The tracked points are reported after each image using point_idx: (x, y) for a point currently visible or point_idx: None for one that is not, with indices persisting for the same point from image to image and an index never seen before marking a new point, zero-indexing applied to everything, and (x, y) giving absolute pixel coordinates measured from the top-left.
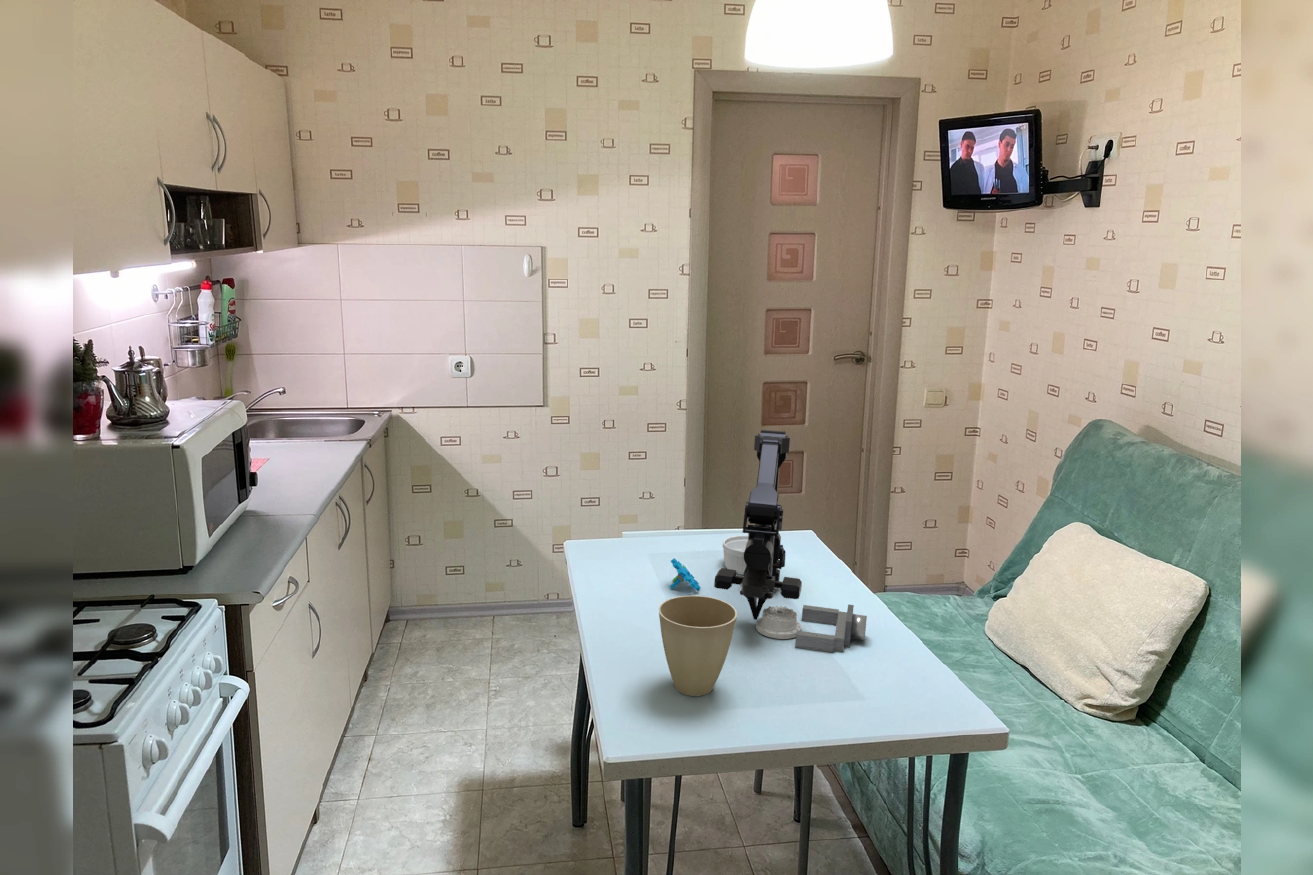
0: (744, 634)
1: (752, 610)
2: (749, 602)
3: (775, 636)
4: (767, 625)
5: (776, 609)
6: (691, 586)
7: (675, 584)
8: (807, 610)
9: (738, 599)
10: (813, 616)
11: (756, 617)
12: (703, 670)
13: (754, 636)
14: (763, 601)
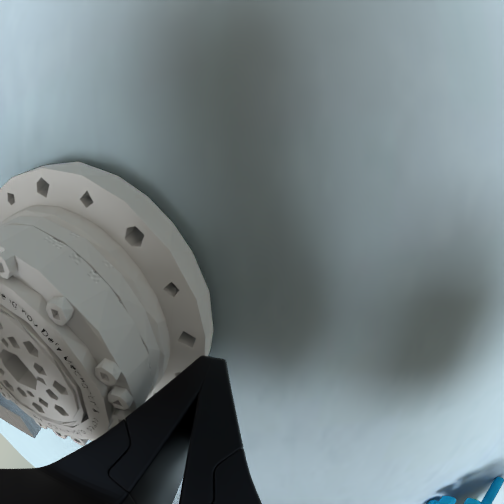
0: (294, 187)
1: (222, 413)
2: (244, 488)
3: (61, 165)
4: (93, 250)
5: (50, 403)
6: (476, 500)
7: (494, 491)
8: (9, 403)
9: (312, 497)
10: None
11: (198, 365)
12: None
13: (211, 167)
14: (67, 469)
